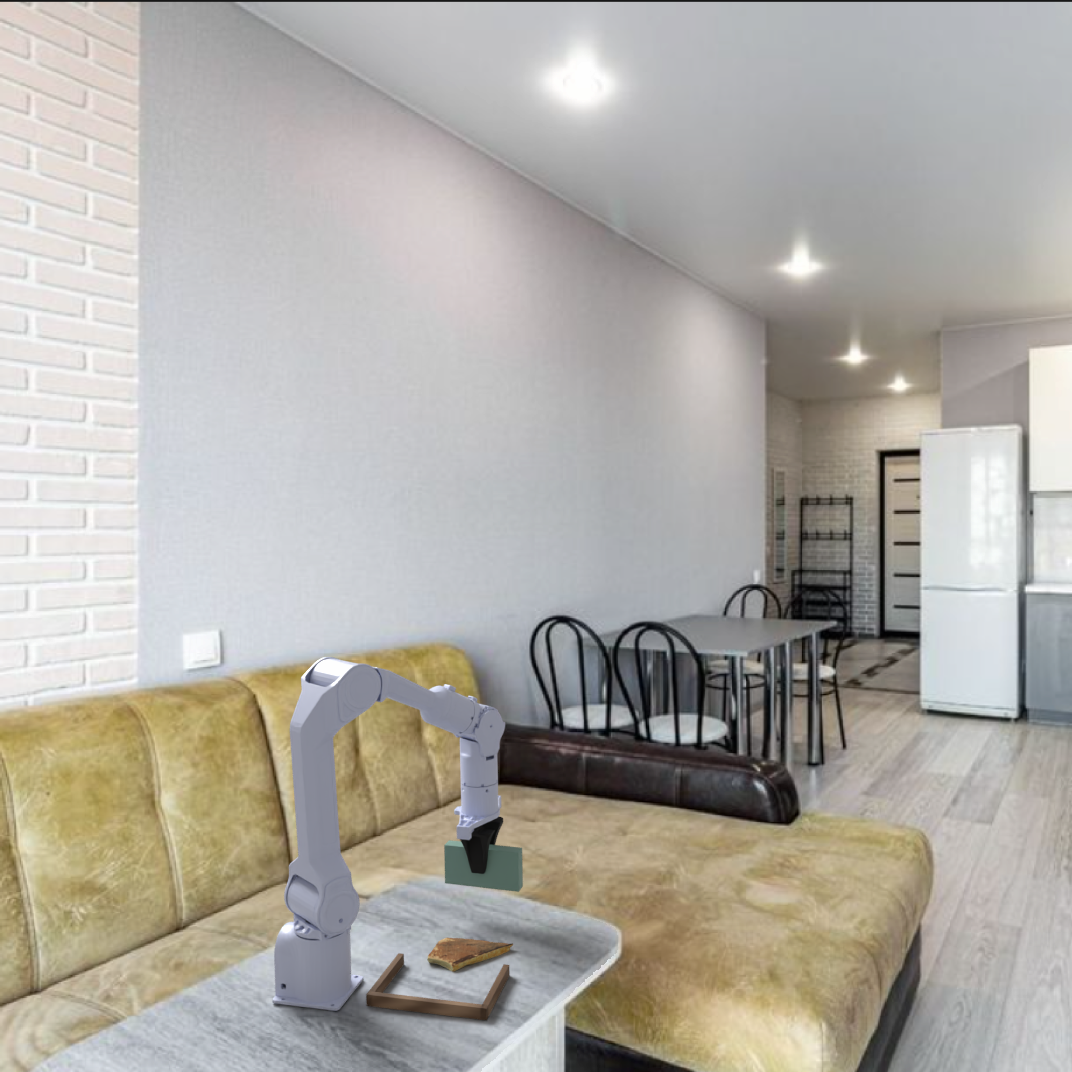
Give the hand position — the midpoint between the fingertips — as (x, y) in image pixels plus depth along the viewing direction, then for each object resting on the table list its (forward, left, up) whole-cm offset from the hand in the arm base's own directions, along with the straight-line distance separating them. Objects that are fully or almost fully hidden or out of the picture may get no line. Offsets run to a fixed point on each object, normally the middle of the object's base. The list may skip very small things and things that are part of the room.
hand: (481, 869), depth 136 cm
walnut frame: (0, -19, -8) cm, 21 cm away
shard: (0, -9, -9) cm, 13 cm away
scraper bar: (0, 0, -2) cm, 2 cm away
